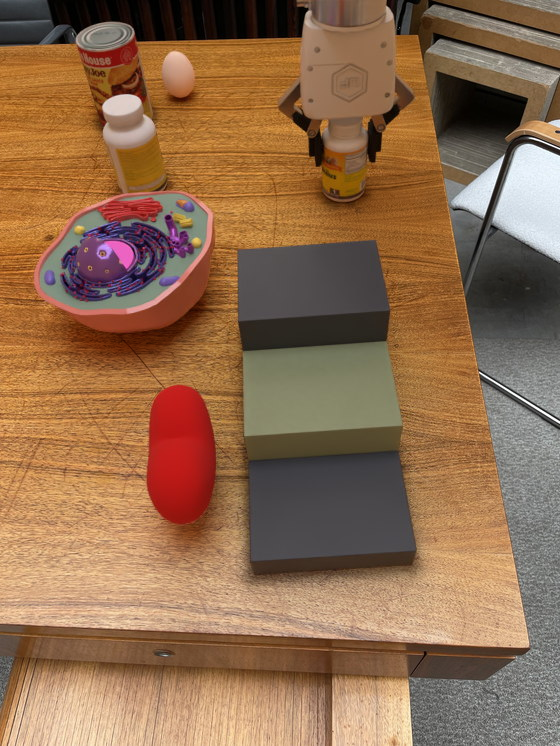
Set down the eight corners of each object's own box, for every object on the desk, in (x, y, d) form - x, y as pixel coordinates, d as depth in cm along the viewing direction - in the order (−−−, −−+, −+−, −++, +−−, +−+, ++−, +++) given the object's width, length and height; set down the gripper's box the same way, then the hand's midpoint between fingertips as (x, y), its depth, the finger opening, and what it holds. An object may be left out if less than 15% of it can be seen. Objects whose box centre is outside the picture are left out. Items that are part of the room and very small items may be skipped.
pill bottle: (177, 189, 84) (158, 106, 74) (132, 208, 82) (108, 126, 72) (154, 166, 87) (134, 84, 78) (111, 184, 85) (85, 102, 76)
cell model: (260, 281, 72) (251, 199, 63) (131, 396, 64) (99, 320, 55) (157, 224, 79) (136, 143, 70) (28, 320, 71) (-15, 243, 62)
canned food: (90, 118, 95) (64, 36, 86) (134, 97, 98) (114, 16, 88) (118, 139, 91) (94, 56, 82) (163, 117, 94) (145, 34, 85)
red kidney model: (165, 437, 60) (141, 374, 53) (222, 431, 61) (207, 367, 53) (161, 555, 53) (132, 504, 45) (225, 549, 53) (208, 496, 45)
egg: (173, 108, 96) (164, 64, 90) (161, 93, 98) (152, 50, 93) (202, 98, 97) (195, 54, 91) (190, 84, 99) (182, 41, 94)
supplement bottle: (314, 184, 83) (314, 110, 74) (354, 173, 83) (357, 99, 75) (331, 209, 79) (332, 135, 71) (372, 197, 80) (377, 123, 72)
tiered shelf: (369, 318, 68) (376, 239, 59) (412, 564, 52) (430, 506, 43) (248, 327, 68) (237, 249, 60) (253, 575, 52) (239, 518, 43)
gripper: (263, 24, 61) (275, 182, 75) (443, 10, 61) (420, 171, 75) (261, -9, 66) (272, 145, 80) (428, -23, 65) (409, 135, 80)
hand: (344, 157), depth 77 cm, fingers open, 5 cm apart
